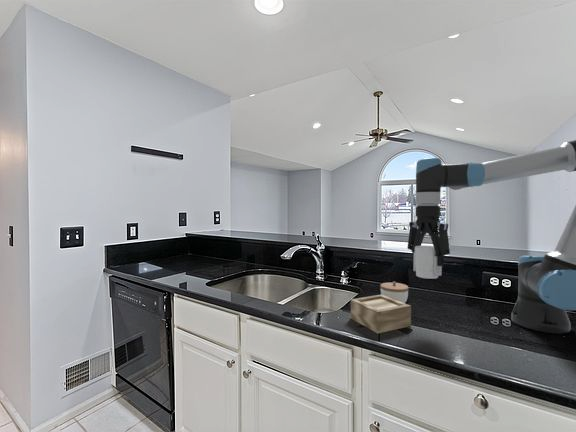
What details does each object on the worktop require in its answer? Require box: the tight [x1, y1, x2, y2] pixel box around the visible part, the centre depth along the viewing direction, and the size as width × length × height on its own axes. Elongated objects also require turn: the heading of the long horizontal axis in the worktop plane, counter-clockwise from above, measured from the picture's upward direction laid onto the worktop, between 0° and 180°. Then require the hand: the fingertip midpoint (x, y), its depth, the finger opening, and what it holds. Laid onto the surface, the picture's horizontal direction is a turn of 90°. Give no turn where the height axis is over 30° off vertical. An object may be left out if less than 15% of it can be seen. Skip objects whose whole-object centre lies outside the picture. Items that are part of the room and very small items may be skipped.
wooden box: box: [350, 294, 412, 334], centre depth 102 cm, size 14×14×7 cm
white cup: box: [415, 245, 439, 280], centre depth 100 cm, size 8×8×10 cm
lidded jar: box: [379, 281, 409, 304], centre depth 120 cm, size 11×11×9 cm
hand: (427, 272), depth 100 cm, fingers closed on white cup, 8 cm apart
